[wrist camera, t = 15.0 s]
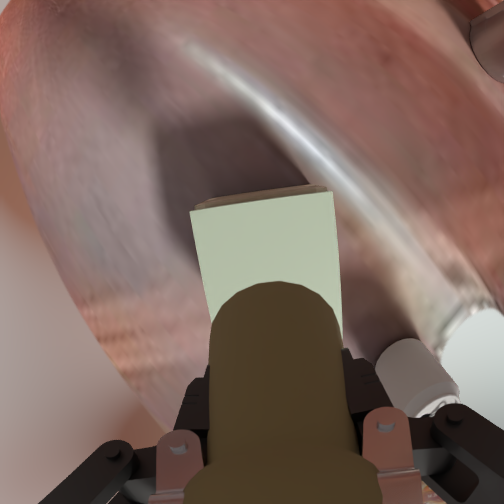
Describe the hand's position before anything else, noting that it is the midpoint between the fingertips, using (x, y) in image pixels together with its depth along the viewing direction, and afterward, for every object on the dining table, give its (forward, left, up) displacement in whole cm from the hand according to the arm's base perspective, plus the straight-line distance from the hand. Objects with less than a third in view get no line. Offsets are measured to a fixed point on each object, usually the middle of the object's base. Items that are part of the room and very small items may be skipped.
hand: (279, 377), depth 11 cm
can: (+17, +15, -22) cm, 31 cm away
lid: (0, 0, -13) cm, 13 cm away
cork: (0, 0, -3) cm, 3 cm away
